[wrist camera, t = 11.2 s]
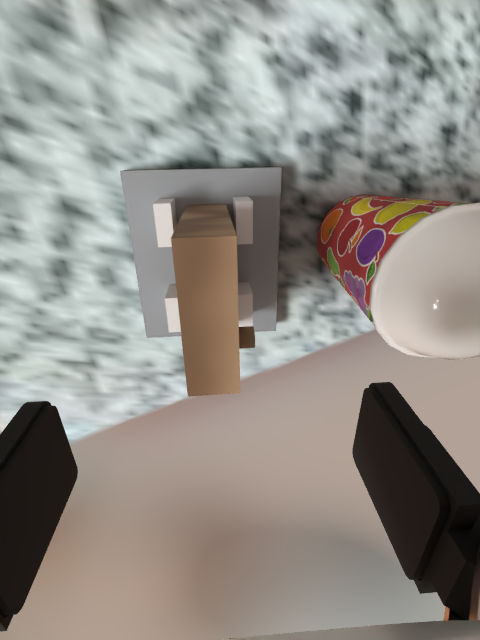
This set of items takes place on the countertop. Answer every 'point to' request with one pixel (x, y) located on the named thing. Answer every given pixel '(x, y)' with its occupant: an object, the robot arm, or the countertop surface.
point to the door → (209, 299)
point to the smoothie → (410, 270)
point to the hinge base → (248, 221)
